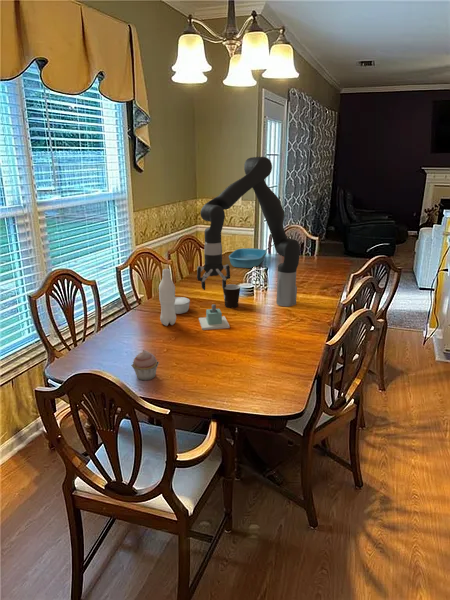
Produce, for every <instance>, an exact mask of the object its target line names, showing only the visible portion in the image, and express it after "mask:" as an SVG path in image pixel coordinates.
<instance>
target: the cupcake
mask: <svg viewBox="0 0 450 600" xmlns="http://www.w3.org/2000/svg"><path fill="white" fill-rule="evenodd" d="M159 364H160V362H159V361H158V359H156V356H155V355H154V354H153V353H152V352H150V351H148V350H146V349H145V350H144V349H143V350H142V352H140V353H138V354H137V355H136V356H135V358H134V359H133V361H132V364H131V368H133V371H134V372H135V375H136V377H137V379H138V380H139V381H150V380H152V379H154V378H155V377H156V375H157V368H158V366H159Z"/></svg>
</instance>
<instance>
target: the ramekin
mask: <svg viewBox="0 0 450 600" xmlns="http://www.w3.org/2000/svg"><path fill="white" fill-rule="evenodd" d="M175 299H176V300H175V304H174V309H175V314H176V315H177V314H178V315H179V314H181V315H182V314H186V313H188V311H189V310H190V309H189V308H190V303H191V300H190V299H189V298H187V297H184V296H183V297H182V296H175Z"/></svg>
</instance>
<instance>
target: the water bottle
mask: <svg viewBox="0 0 450 600" xmlns="http://www.w3.org/2000/svg"><path fill="white" fill-rule="evenodd" d="M161 275H162V279H161V281H160V283H159V285H158V291H159V292H158V295H159V296H158V297H159V298H158V299H159V304H160V310H161V311H160V316H159V319H160V320H159V321H160V322H161V324H162V325H163V326H166V327H167V326H168V325H169V324H170V325H171V326H173V325H174V324H175V323H176V320H177V314H175V309H174V304H175V300H176V299H175V297H176V286H175V283H174V281H173V280H172V278H171V271H170V269H169V268H164V269H162V274H161Z"/></svg>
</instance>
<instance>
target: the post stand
mask: <svg viewBox="0 0 450 600" xmlns="http://www.w3.org/2000/svg"><path fill="white" fill-rule="evenodd" d="M211 309H212V313H216V309H217V304H214V303H213V304H211ZM198 321H199V325H200V327H201V330H202V331H205V330H207V331H209V330H220V329H230V328H231V327H230V324H229V322H228V320H227V318H226V316H225V315H223V316H222V324H212V325H208V323H207V320H206V316H205V317H198Z"/></svg>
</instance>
